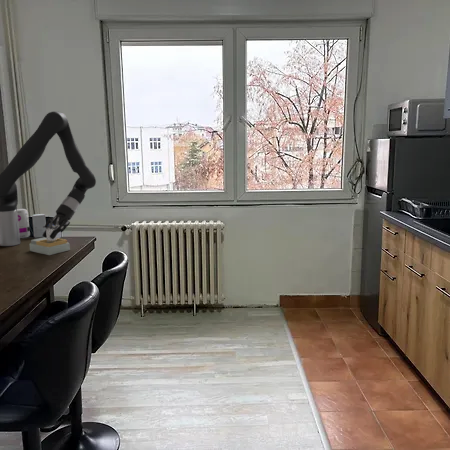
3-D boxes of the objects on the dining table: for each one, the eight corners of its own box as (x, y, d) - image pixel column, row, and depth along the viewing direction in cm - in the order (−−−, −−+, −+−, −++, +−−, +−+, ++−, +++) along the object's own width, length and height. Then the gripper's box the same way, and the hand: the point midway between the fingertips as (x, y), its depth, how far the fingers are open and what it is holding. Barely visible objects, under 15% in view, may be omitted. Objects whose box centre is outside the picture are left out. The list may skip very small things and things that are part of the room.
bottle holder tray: (30, 250, 198) (29, 240, 197) (51, 246, 207) (50, 236, 206) (48, 255, 189) (47, 244, 188) (70, 250, 198) (69, 239, 197)
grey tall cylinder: (45, 251, 196) (43, 225, 194) (54, 249, 200) (52, 223, 198) (51, 253, 194) (49, 226, 192) (59, 251, 198) (57, 224, 195)
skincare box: (35, 237, 226) (32, 215, 224) (33, 236, 229) (31, 214, 227) (47, 236, 229) (45, 214, 227) (45, 235, 233) (43, 213, 231)
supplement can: (22, 238, 224) (19, 211, 221) (9, 238, 226) (6, 210, 224) (33, 235, 231) (30, 208, 229) (21, 234, 234) (18, 208, 231)
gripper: (53, 202, 203) (32, 231, 195) (72, 204, 195) (51, 234, 187) (64, 211, 208) (44, 240, 201) (82, 214, 200) (62, 243, 193)
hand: (47, 237), depth 194 cm, fingers open, 5 cm apart
